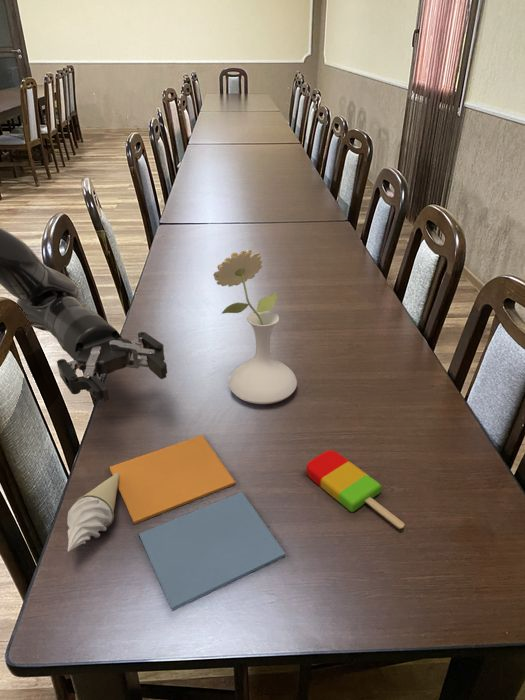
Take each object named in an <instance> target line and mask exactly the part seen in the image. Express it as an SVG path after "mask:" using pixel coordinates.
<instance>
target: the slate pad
mask: <svg viewBox="0 0 525 700" xmlns="http://www.w3.org/2000/svg"><path fill="white" fill-rule="evenodd" d="M138 537H139V540H140V543H142V547H143V548H144V551H145V553H146V555H147V557H148V560H149V562H150V564H151V567H152V569H153V571H154V573H155V576H156V579H157V581H158V582H159V585H160V588H161V590H162V592H163V595H164V597H165V599H166V601H167V603H168V605H169V608H170V610H171V611H174V610H177V609H179V608H181V607H182V606H185V605H187V604H189V603H191V602H194V601H195V600H198V599H199V598H201V597H203V596H205V595H208V594H210V593H212V592H214V591H216V590H218V589H220V588H222V587H224V586H226V585H229V584H231V583H233V582H235V581H237V580H239V579H241V578H243V577H245V576H248V575H249V574H252V573H253V572H256V571H258V570H261V569H263V568H264V567H267V566H268V565H270V564H272V563H274V562H277V561H278V560H281V559H283V558H285V557H286V552H285V551H284V549H283V548H282V547H281V545H280V544H279V542H278V541H277V539H276V538H275V537H274V535H273V533H272V532H271V531H270V530H269V527H268V526H267V525H266V524H265V522H264V521H263V519H262V518H261V517H260V515H259V514H258V512H257V510H256V509H255V508H254V507H253V505H252V503H251V502H250V501H249V500H248V498H247V497H246V494H244V493H243V491H240V492H238V493H236V494H233V495H231V496H228V497H226V498H223V499H221V500H219V501H216V502H214V503H211V504H209V505H206V506H203V507H201V508H199V509H196V510H193V511H191V512H189V513H186V514H185V515H182V516H179V517H176V518H174V519H171V520H168V521H167V522H164V523H161V524H159V525H157V526H154V527H151V528H149V529H147V530H144V531H142V532H139V533H138Z"/></svg>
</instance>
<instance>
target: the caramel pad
mask: <svg viewBox="0 0 525 700" xmlns="http://www.w3.org/2000/svg"><path fill="white" fill-rule="evenodd" d="M109 470H110V474H111V475H112V476H113V475H114V474H116V473H119V480H118V487H117V490H118V491H119V494H120V496H121V498H122V500H123V503H124V505H125V507H126V510H127V512H128V514H129V516H130V519H131V521H132V524H133V525H137V524H139V523H141V522H144V521H146V520H149V519H151V518H154V517H156V516H159V515H162V514H164V513H167V512H169V511H173V510H174V509H177V508H179V507H182V506H184V505H187V504H189V503H193V502H194V501H197V500H199V499H202V498H205V497H207V496H210V495H213V494H215V493H217V492H221V491H222V490H224V489H227V488H230V487H233V486H236V481H235V479H234V478H233V477H232V475H231V474H230V472H229V471H228V470H227V468H226V467H225V465H224V463H223V462H222V461H221V459H220V458H219V456H218V455H217V453H216V452H215V451H214V449H213V447H211V445H210V444H209V443H208V440H207V439H206V437H205V436H204V435H203V434H201V435H198V436H195V437H192V438H188V439H186V440H184V441H180V442H177V443H174V444H171V445H169V446H165V447H163V448H160V449H156V450H154V451H151V452H147V453H145V454H142V455H140V456H136V457H134V458H130V459H128V460H125V461H122V462H119V463H117V464H113V465H111V466H109ZM112 476H111V477H112Z"/></svg>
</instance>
